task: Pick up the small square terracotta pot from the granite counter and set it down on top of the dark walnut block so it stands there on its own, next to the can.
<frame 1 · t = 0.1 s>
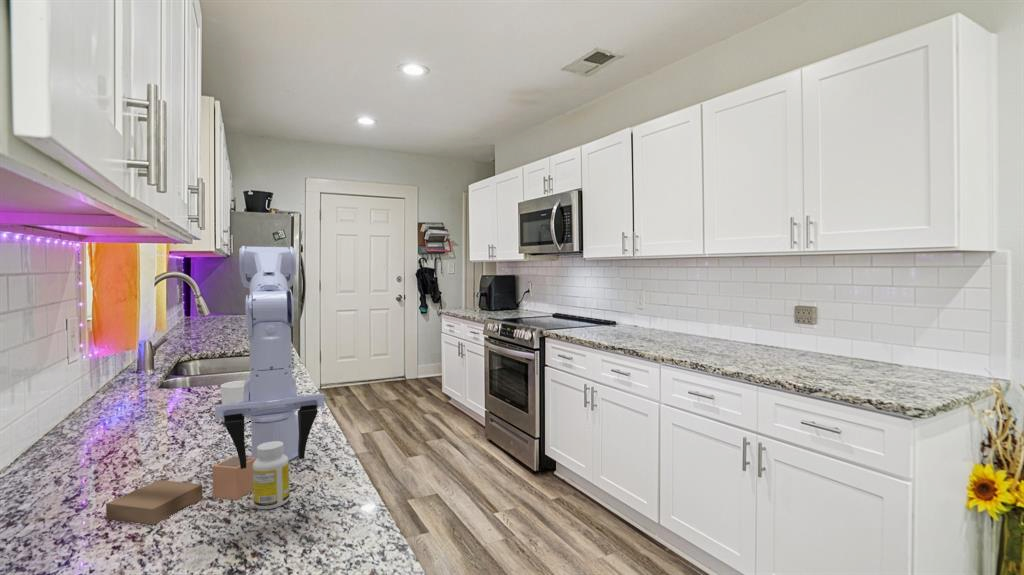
hand: (273, 462, 72), 11 cm above the countertop, tool pointing down, fingers open, 7 cm apart
supplement bottle: (271, 503, 82), on the countertop
terracotta pot: (235, 492, 86), on the countertop
white cup: (239, 422, 127), on the countertop
walnut block: (156, 511, 80), on the countertop
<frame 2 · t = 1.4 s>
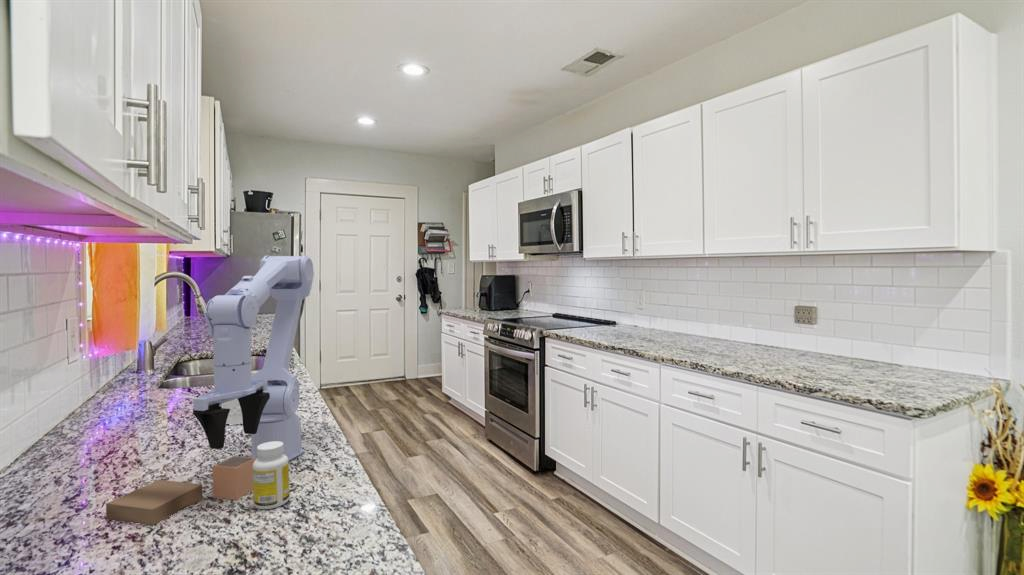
hand: (234, 440, 86), 9 cm above the countertop, tool pointing down, fingers open, 7 cm apart
nothing on the countertop moved.
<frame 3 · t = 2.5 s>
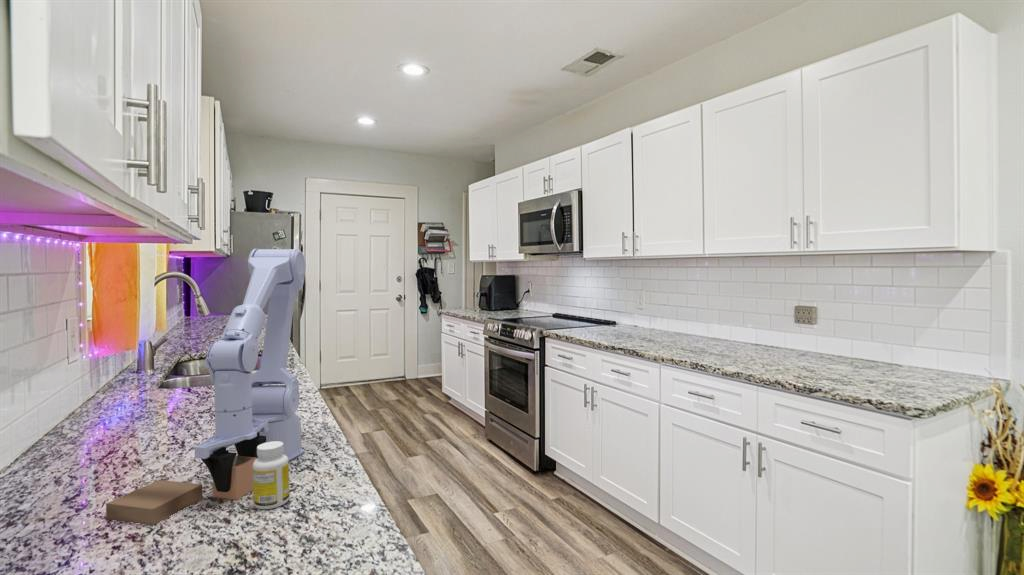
hand: (235, 484, 86), 1 cm above the countertop, tool pointing down, fingers closed on terracotta pot, 5 cm apart
terracotta pot: (235, 492, 86), on the countertop, touching gripper
everything else where it was.
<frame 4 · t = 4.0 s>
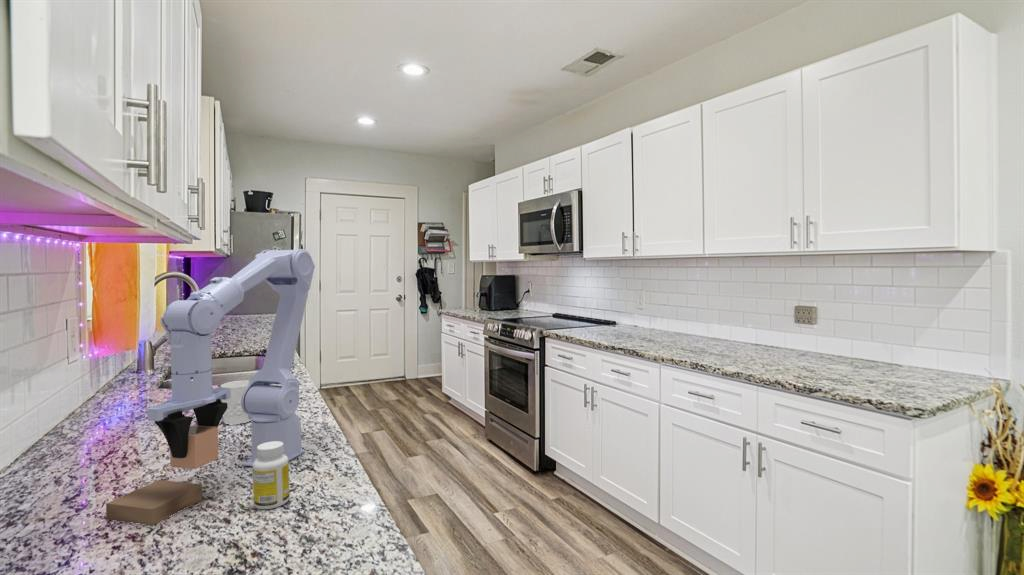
hand: (193, 451, 82), 9 cm above the countertop, tool pointing down, fingers closed on terracotta pot, 5 cm apart
terracotta pot: (194, 462, 82), point 7 cm above the countertop, touching gripper
everything else where it was.
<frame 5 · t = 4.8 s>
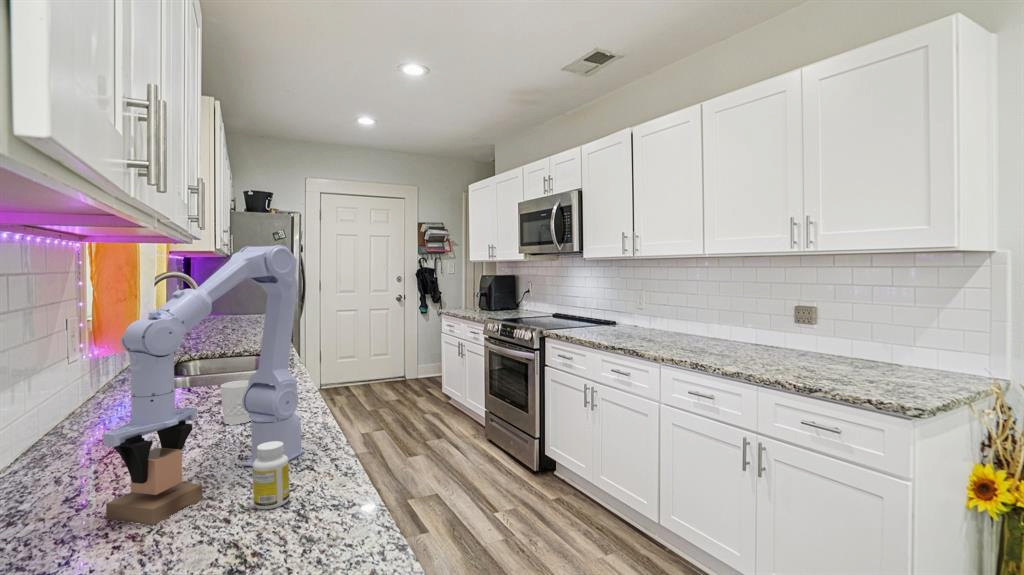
hand: (155, 475, 80), 6 cm above the countertop, tool pointing down, fingers closed on terracotta pot, 5 cm apart
terracotta pot: (157, 486, 80), point 4 cm above the countertop, touching gripper
everything else where it was.
when the fingers open (5 cm above the countertop, at t = 5.4 s): terracotta pot stays where it is, resting on walnut block.
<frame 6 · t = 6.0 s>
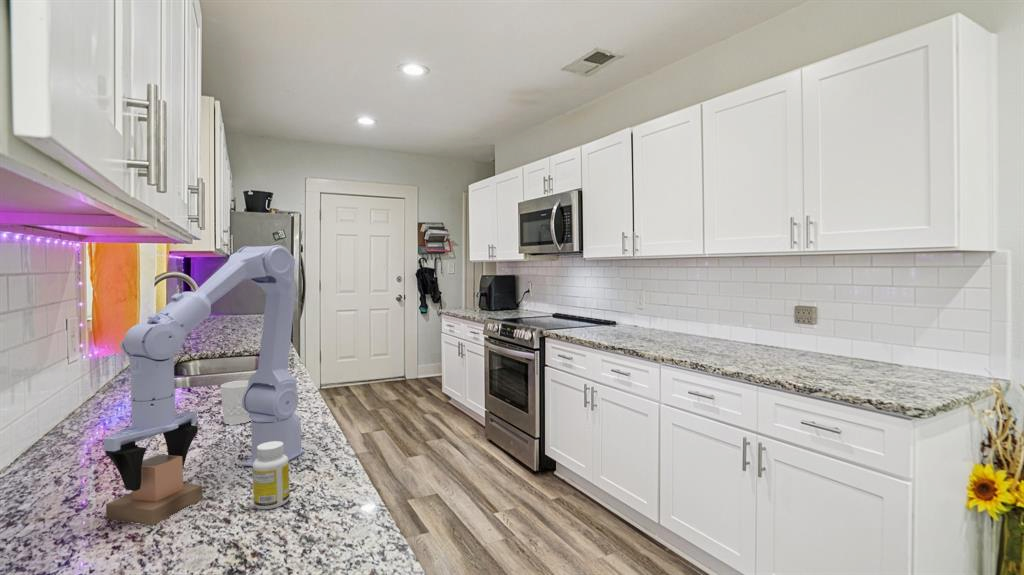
hand: (155, 479, 80), 5 cm above the countertop, tool pointing down, fingers open, 7 cm apart
terracotta pot: (158, 493, 80), point 2 cm above the countertop, touching walnut block
walnut block: (156, 512, 80), on the countertop, touching terracotta pot
everything else where it was.
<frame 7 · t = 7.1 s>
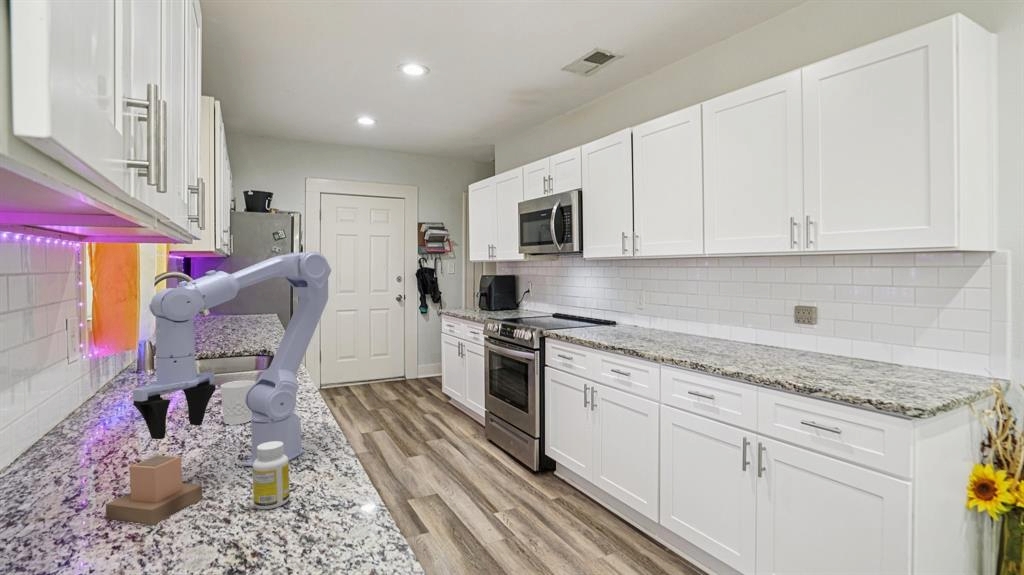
hand: (177, 431, 87), 10 cm above the countertop, tool pointing down, fingers open, 7 cm apart
nothing on the countertop moved.
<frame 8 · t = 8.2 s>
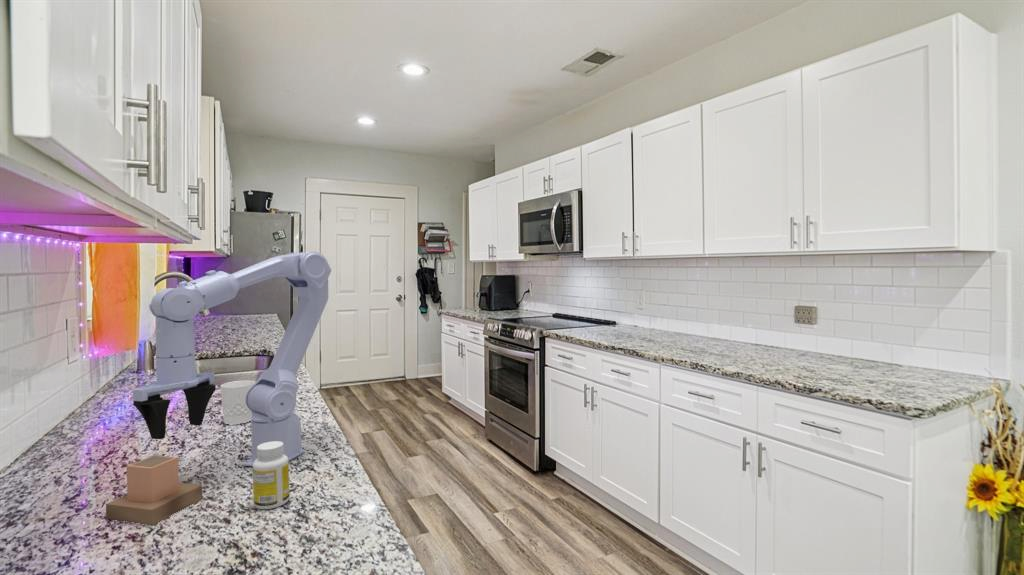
hand: (177, 431, 87), 10 cm above the countertop, tool pointing down, fingers open, 7 cm apart
nothing on the countertop moved.
at the end: terracotta pot inside the target area on the walnut block (0.3 cm from its centre), point 3.0 cm above the walnut block's base; terracotta pot tilted 0°; the gripper is holding nothing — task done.
